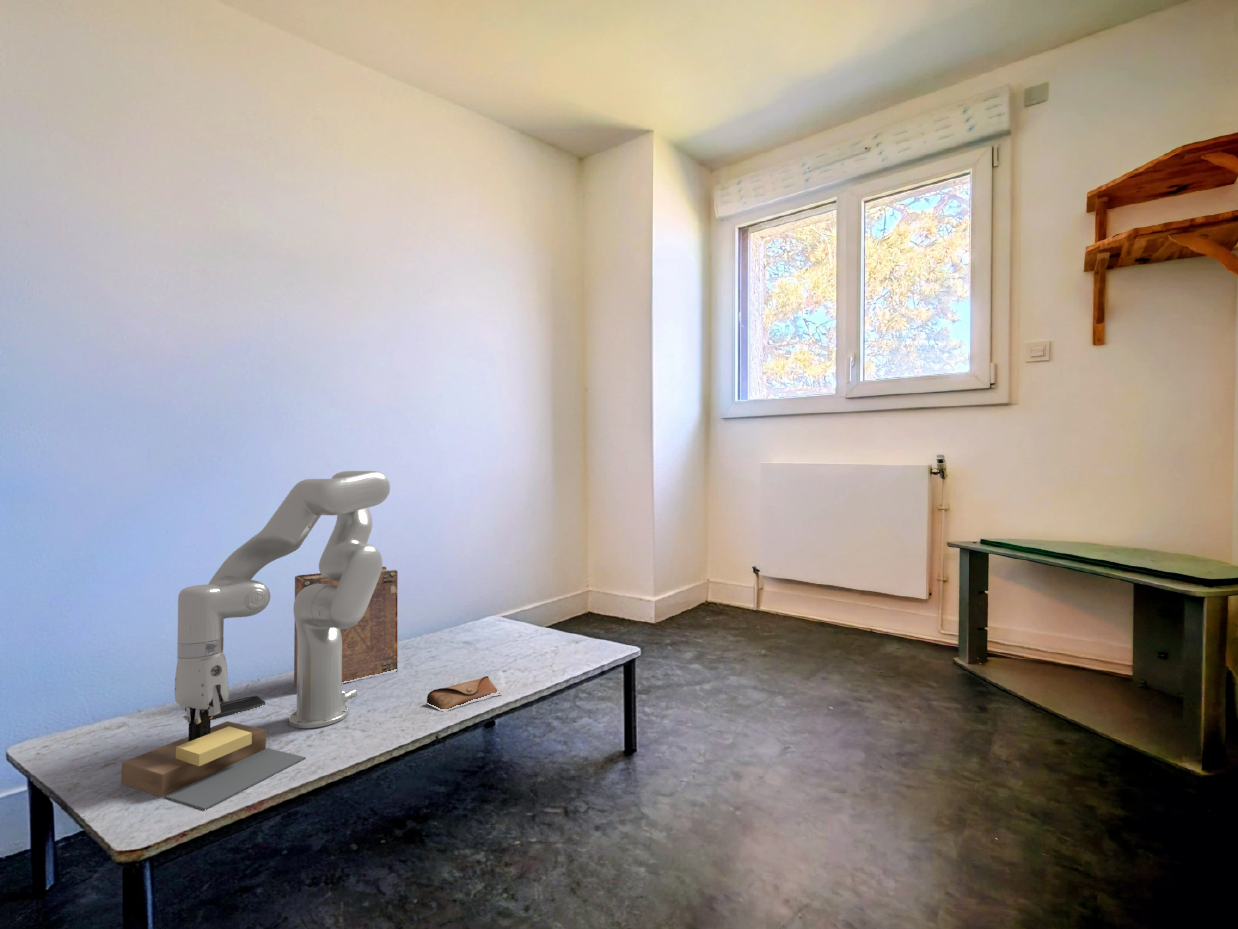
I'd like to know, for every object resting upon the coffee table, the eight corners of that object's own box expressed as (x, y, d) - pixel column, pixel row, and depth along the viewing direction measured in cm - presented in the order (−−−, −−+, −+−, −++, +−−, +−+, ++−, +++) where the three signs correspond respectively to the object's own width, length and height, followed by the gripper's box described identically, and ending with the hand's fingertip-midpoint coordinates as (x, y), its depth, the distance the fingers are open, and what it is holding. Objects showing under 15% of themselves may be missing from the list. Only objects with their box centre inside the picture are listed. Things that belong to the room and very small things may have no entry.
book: (385, 664, 180) (386, 566, 181) (397, 672, 173) (398, 569, 174) (293, 684, 163) (294, 575, 164) (302, 693, 156) (303, 579, 157)
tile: (228, 737, 121) (228, 726, 121) (251, 743, 118) (251, 732, 118) (175, 758, 111) (175, 746, 112) (199, 766, 109) (199, 754, 109)
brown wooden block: (227, 739, 129) (227, 721, 129) (265, 749, 124) (266, 730, 124) (121, 784, 110) (121, 762, 110) (162, 797, 106) (162, 774, 106)
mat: (267, 749, 124) (267, 748, 124) (305, 758, 120) (305, 757, 120) (164, 797, 105) (164, 795, 105) (205, 810, 101) (205, 808, 101)
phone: (186, 712, 142) (256, 694, 153) (186, 717, 142) (256, 699, 153) (194, 721, 137) (266, 702, 148) (194, 726, 137) (266, 707, 148)
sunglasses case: (442, 713, 143) (436, 686, 145) (430, 721, 147) (424, 694, 149) (505, 694, 155) (498, 669, 158) (492, 701, 159) (485, 677, 162)
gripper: (244, 647, 118) (243, 739, 118) (196, 639, 124) (195, 727, 123) (205, 658, 111) (204, 756, 111) (156, 649, 117) (155, 742, 116)
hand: (199, 740), depth 117 cm, fingers closed
